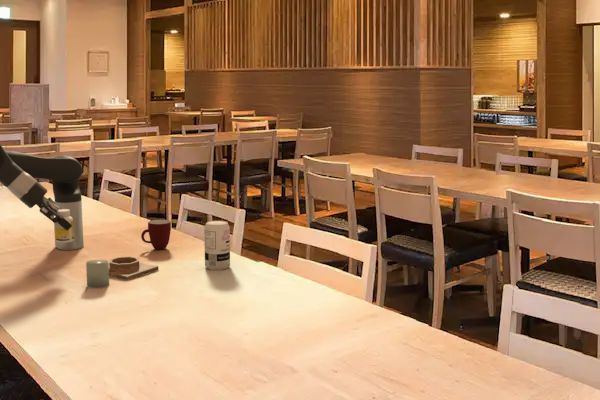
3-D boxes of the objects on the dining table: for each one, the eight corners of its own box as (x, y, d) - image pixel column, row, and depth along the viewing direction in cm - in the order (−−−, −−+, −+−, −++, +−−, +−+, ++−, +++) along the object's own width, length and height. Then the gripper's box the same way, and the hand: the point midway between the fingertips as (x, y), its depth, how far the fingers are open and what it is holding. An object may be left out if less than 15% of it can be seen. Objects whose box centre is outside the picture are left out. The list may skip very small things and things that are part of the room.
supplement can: (205, 264, 236) (204, 220, 233) (230, 263, 236) (229, 220, 234) (204, 270, 228) (203, 225, 225) (229, 270, 228) (229, 225, 226)
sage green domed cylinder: (82, 285, 211) (81, 263, 209) (98, 280, 216) (97, 258, 215) (97, 289, 207) (96, 266, 206) (113, 283, 213) (112, 261, 212)
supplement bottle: (66, 238, 223) (65, 207, 222) (77, 240, 220) (76, 209, 218) (52, 241, 219) (50, 210, 217) (63, 243, 216) (61, 212, 214)
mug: (145, 253, 249) (145, 225, 247) (139, 248, 256) (138, 221, 254) (174, 250, 254) (173, 222, 252) (167, 245, 261) (166, 218, 259)
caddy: (90, 272, 225) (90, 261, 224) (122, 262, 236) (122, 252, 236) (127, 280, 216) (126, 269, 216) (158, 269, 228) (158, 259, 228)
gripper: (21, 194, 221) (63, 229, 226) (15, 202, 207) (60, 240, 212) (38, 177, 221) (80, 212, 226) (33, 184, 207) (77, 222, 212)
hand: (70, 225), depth 219 cm, fingers closed on supplement bottle, 5 cm apart
